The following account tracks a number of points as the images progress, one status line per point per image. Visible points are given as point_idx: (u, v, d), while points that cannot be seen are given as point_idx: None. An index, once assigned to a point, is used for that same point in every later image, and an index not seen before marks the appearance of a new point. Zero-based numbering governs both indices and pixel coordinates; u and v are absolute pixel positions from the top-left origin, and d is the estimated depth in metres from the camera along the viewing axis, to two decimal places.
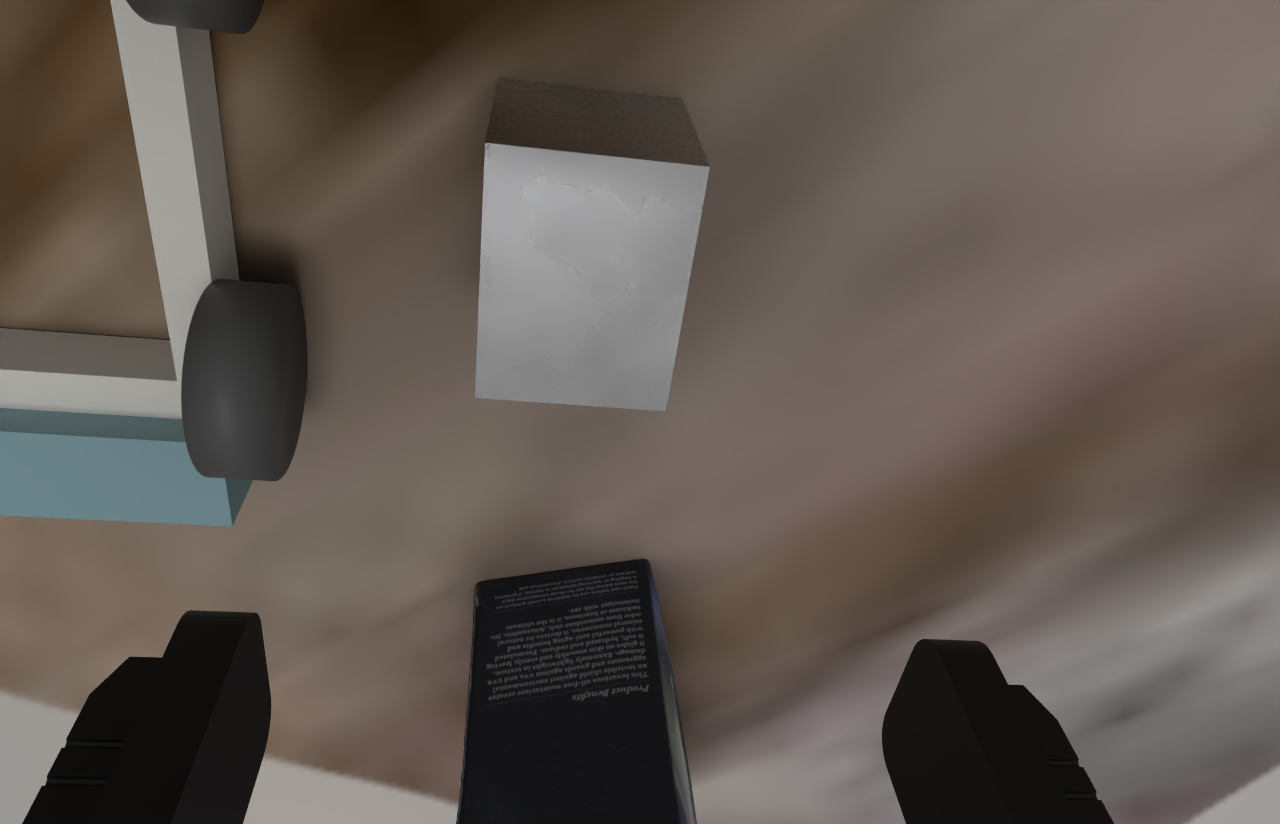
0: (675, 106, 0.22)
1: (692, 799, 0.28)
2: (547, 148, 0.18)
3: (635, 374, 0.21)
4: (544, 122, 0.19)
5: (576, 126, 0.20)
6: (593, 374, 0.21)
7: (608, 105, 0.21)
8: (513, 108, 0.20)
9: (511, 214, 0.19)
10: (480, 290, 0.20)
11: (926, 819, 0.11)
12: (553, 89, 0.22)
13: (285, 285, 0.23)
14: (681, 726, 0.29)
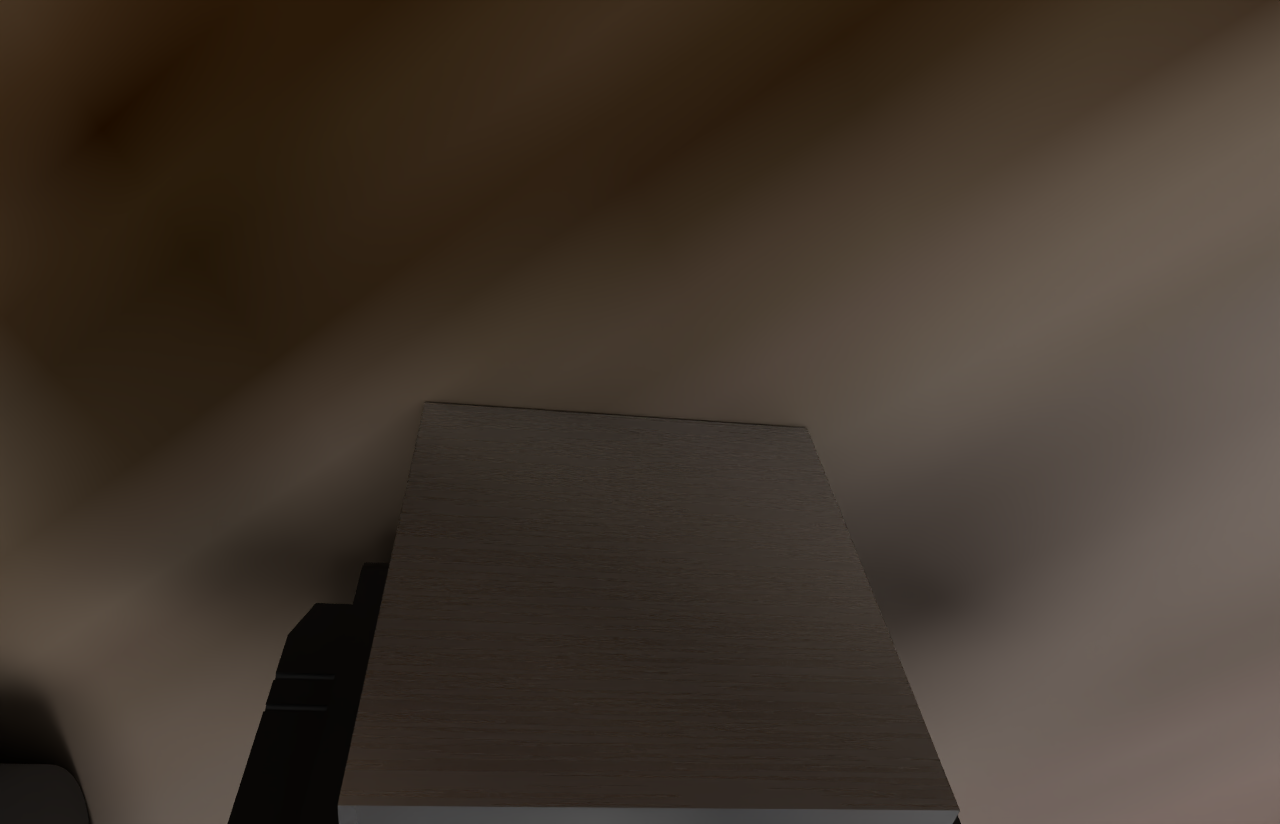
0: (801, 467, 0.10)
1: None
2: (517, 801, 0.06)
3: None
4: (514, 621, 0.08)
5: (595, 626, 0.08)
6: None
7: (662, 496, 0.10)
8: (442, 553, 0.08)
9: None
10: None
11: None
12: (540, 439, 0.10)
13: None
14: None
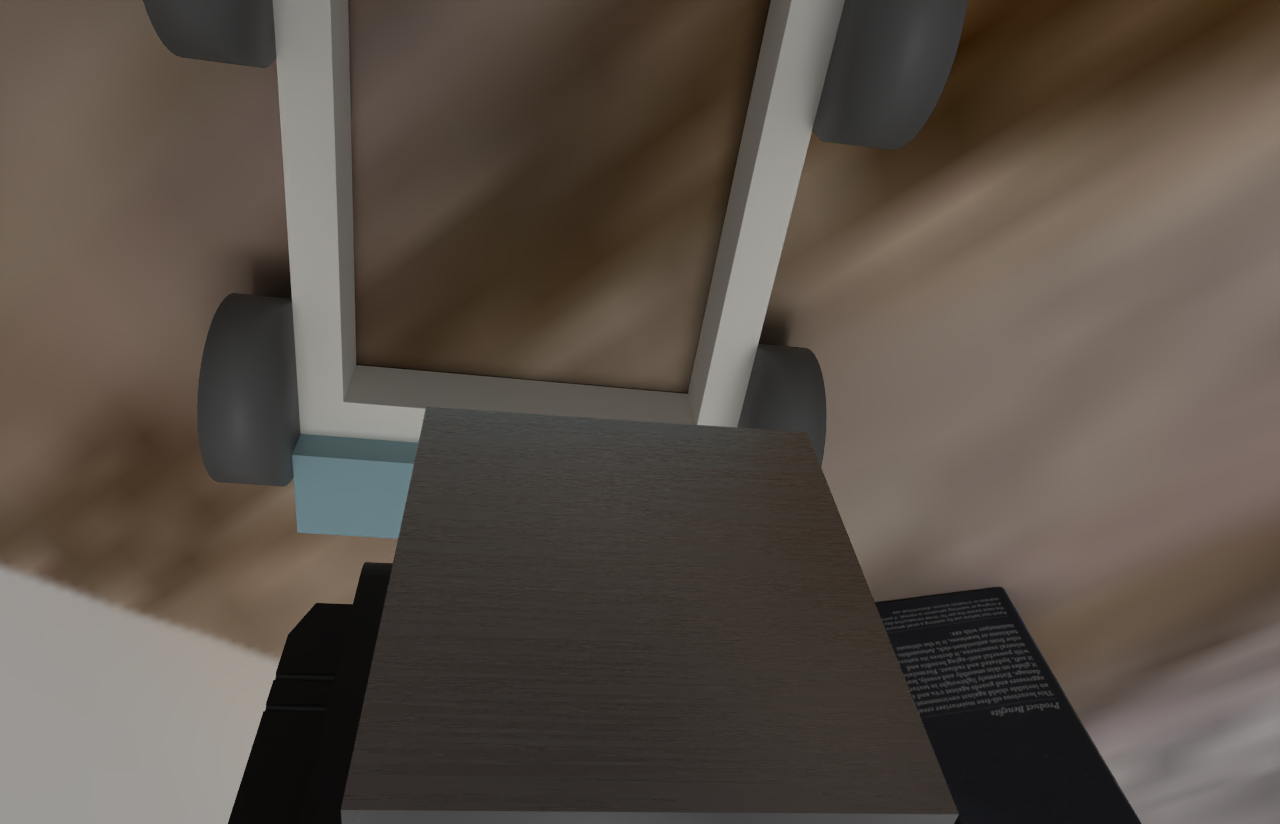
0: (802, 471, 0.10)
1: None
2: (518, 805, 0.06)
3: None
4: (516, 626, 0.08)
5: (597, 631, 0.08)
6: None
7: (662, 499, 0.10)
8: (444, 558, 0.08)
9: None
10: None
11: None
12: (542, 443, 0.10)
13: (807, 349, 0.26)
14: None
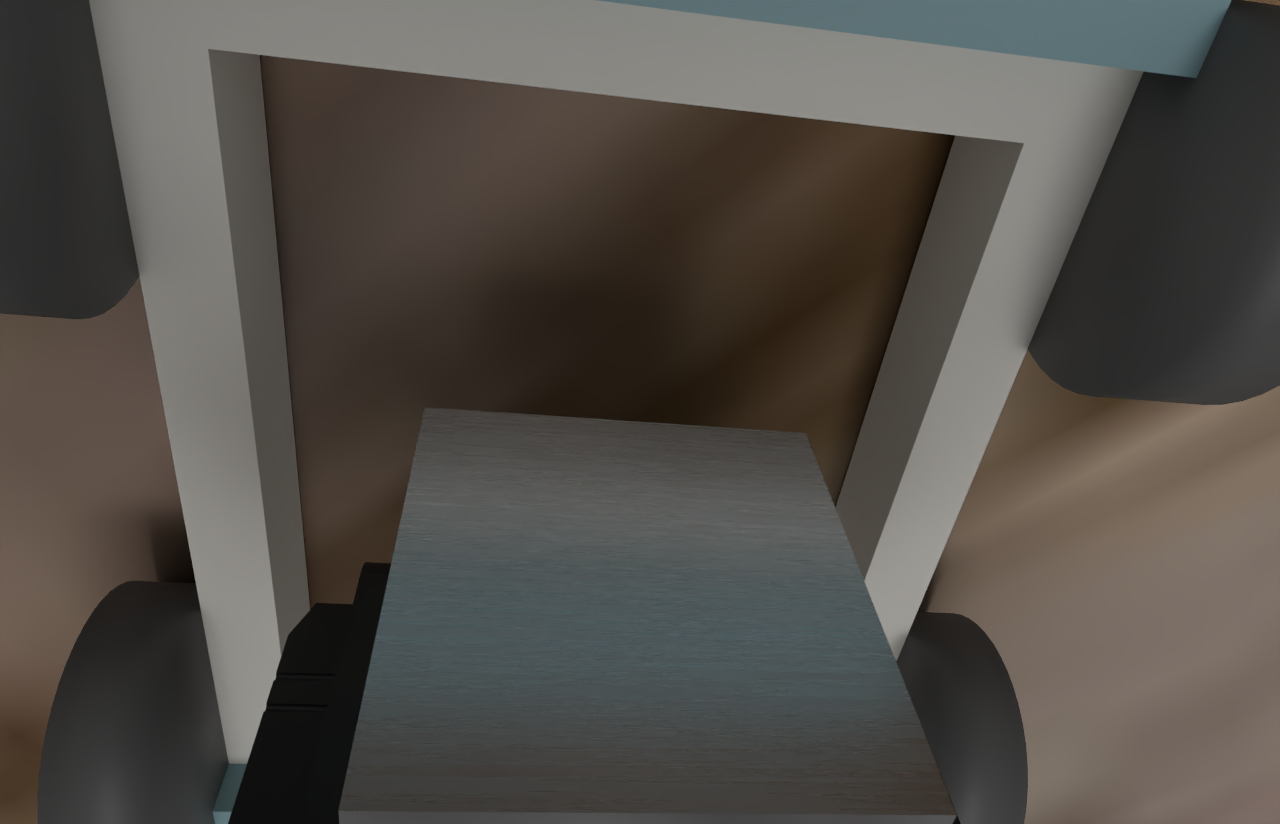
0: (800, 472, 0.10)
1: None
2: (516, 807, 0.06)
3: None
4: (514, 626, 0.08)
5: (596, 632, 0.08)
6: None
7: (661, 499, 0.10)
8: (441, 558, 0.08)
9: None
10: None
11: None
12: (540, 444, 0.10)
13: (975, 625, 0.18)
14: None
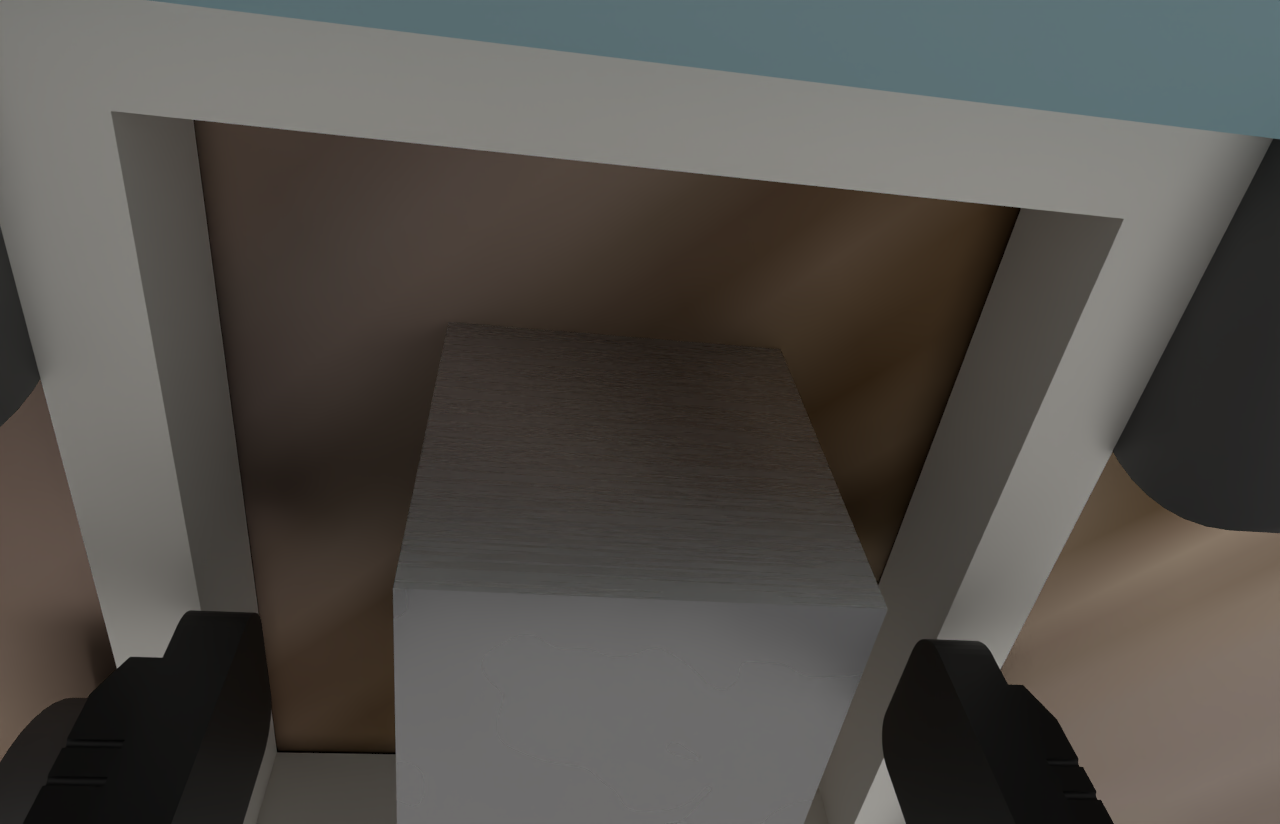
0: (772, 373, 0.12)
1: None
2: (532, 591, 0.08)
3: None
4: (529, 474, 0.09)
5: (596, 479, 0.10)
6: None
7: (652, 390, 0.11)
8: (468, 427, 0.10)
9: (457, 699, 0.09)
10: (399, 811, 0.10)
11: (926, 819, 0.11)
12: (549, 348, 0.12)
13: None
14: None
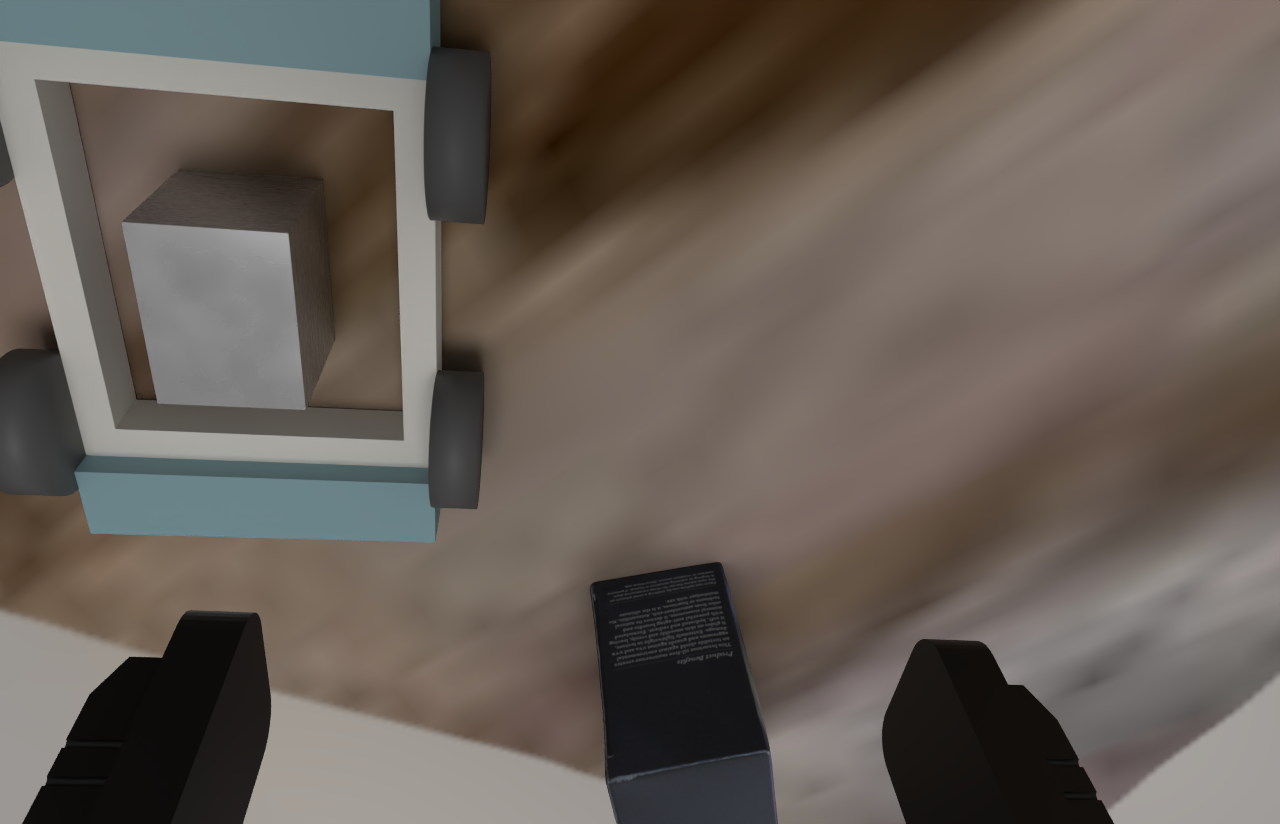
0: (310, 185, 0.30)
1: None
2: (167, 224, 0.26)
3: (274, 382, 0.29)
4: (184, 203, 0.27)
5: (209, 206, 0.27)
6: (243, 383, 0.29)
7: (252, 187, 0.29)
8: (169, 193, 0.28)
9: (152, 270, 0.26)
10: (142, 324, 0.27)
11: (926, 819, 0.11)
12: (218, 176, 0.29)
13: (482, 373, 0.33)
14: None
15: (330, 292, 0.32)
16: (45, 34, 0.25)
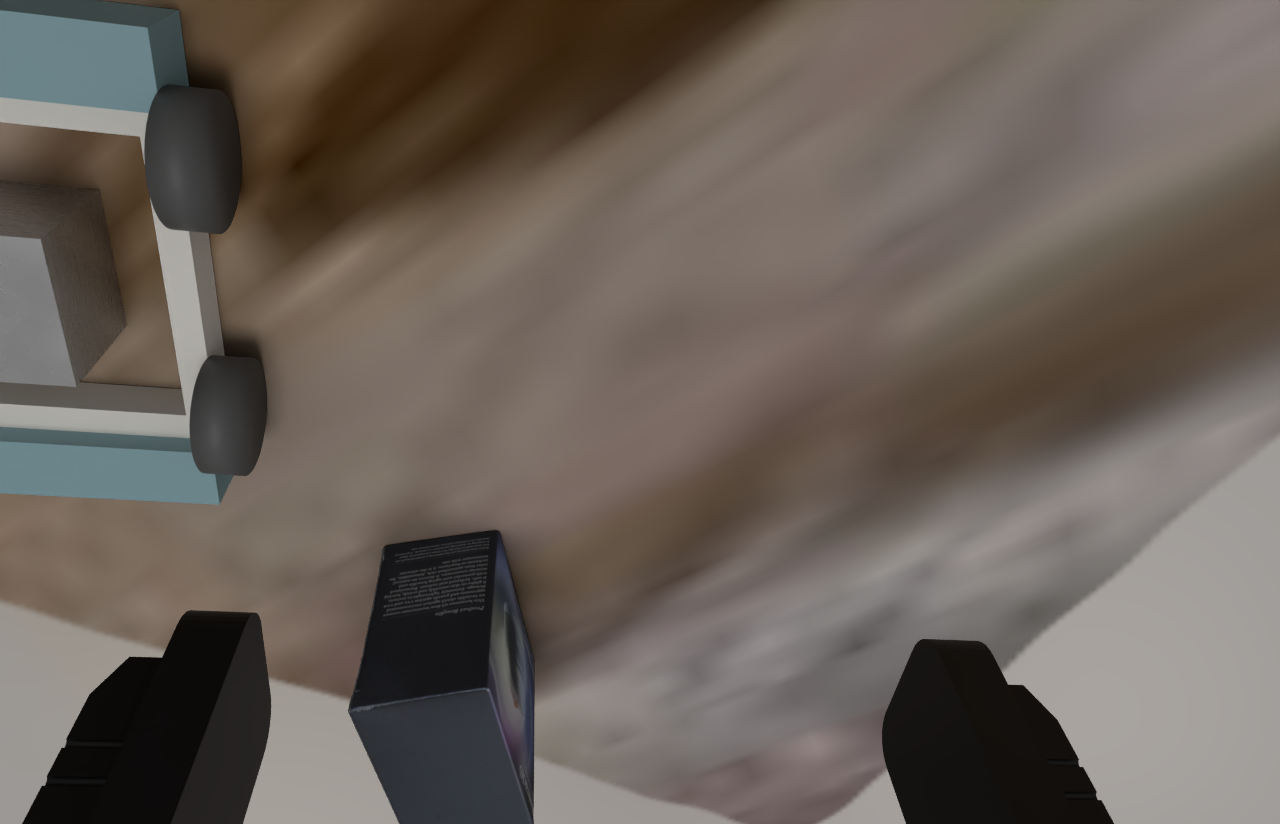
0: (84, 195, 0.35)
1: (516, 682, 0.43)
2: None
3: (46, 363, 0.34)
4: None
5: None
6: (18, 363, 0.34)
7: (29, 196, 0.34)
8: None
9: None
10: None
11: (926, 819, 0.11)
12: (4, 185, 0.35)
13: (251, 358, 0.38)
14: (515, 638, 0.45)
15: (116, 285, 0.37)
16: None
